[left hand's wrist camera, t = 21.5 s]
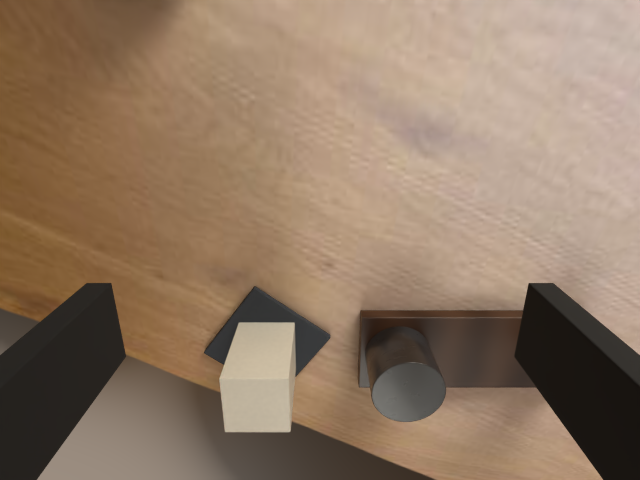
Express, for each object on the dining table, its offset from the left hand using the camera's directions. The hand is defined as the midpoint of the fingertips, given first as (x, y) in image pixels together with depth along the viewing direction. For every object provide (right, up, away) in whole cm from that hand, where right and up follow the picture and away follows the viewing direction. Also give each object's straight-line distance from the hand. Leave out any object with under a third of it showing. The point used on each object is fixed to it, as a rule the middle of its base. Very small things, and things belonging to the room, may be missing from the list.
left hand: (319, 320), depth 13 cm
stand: (+16, -9, +32) cm, 37 cm away
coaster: (-6, -9, +32) cm, 34 cm away
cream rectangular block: (-6, -9, +31) cm, 33 cm away
